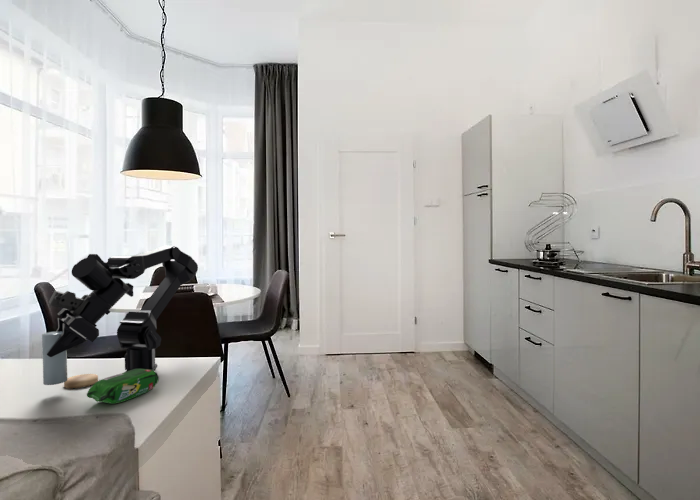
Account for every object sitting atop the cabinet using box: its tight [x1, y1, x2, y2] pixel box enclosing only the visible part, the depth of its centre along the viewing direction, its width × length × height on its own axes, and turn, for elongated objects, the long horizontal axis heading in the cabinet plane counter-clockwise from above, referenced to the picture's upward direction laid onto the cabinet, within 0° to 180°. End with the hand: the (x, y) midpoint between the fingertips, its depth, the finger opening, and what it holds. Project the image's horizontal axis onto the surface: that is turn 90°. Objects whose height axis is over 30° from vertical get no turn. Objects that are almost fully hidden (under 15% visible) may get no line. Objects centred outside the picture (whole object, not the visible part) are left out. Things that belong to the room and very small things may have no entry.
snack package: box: [86, 369, 160, 405], centre depth 95 cm, size 7×16×5 cm, turn 156°
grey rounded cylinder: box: [41, 330, 68, 386], centre depth 96 cm, size 4×4×11 cm
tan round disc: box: [63, 373, 99, 390], centre depth 104 cm, size 7×7×1 cm
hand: (47, 353), depth 95 cm, fingers closed on grey rounded cylinder, 4 cm apart
